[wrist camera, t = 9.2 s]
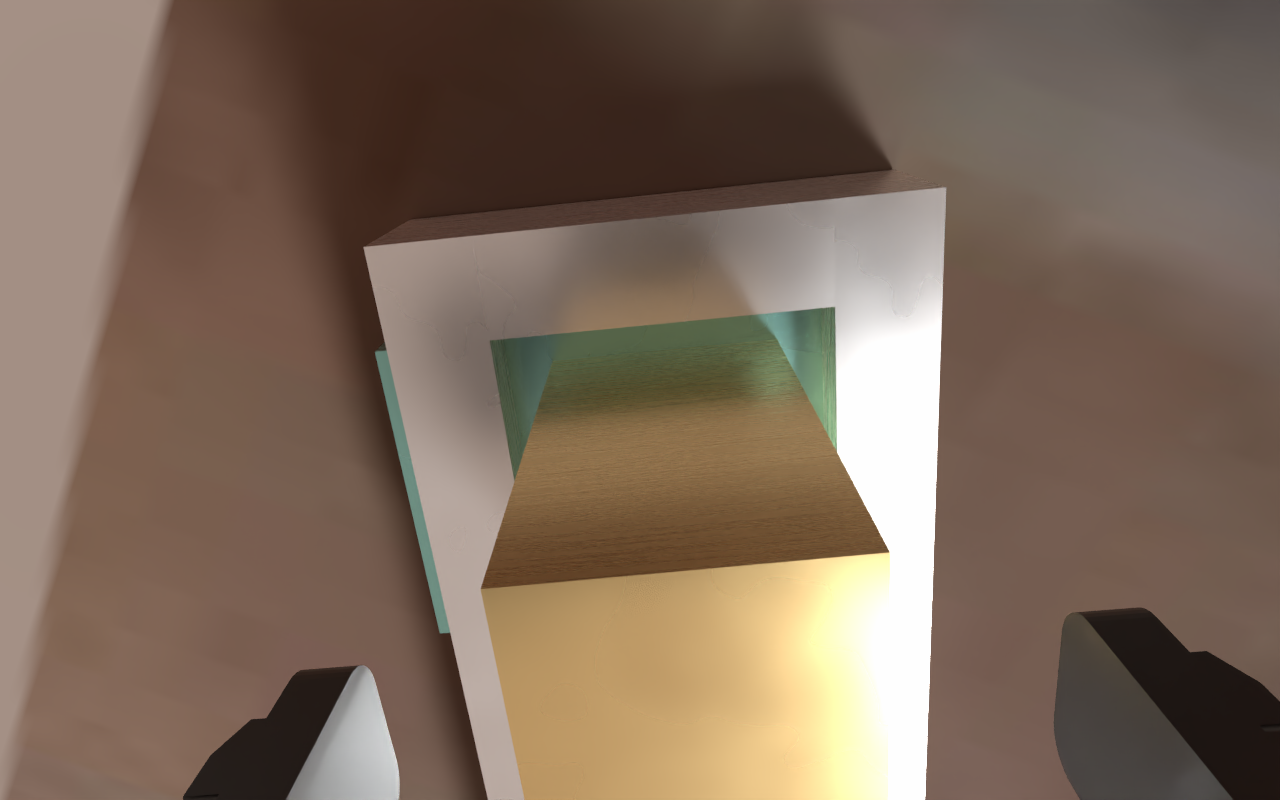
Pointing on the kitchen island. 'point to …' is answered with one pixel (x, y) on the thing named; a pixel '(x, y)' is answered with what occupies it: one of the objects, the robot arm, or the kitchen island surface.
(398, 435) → the white compartment tray
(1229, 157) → the kitchen island surface
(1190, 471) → the kitchen island surface
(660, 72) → the kitchen island surface
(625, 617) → the brass block
